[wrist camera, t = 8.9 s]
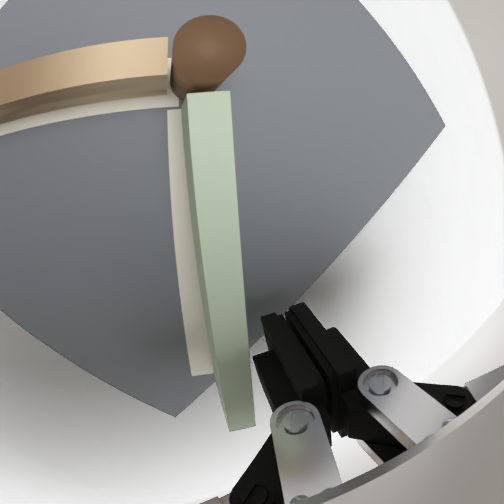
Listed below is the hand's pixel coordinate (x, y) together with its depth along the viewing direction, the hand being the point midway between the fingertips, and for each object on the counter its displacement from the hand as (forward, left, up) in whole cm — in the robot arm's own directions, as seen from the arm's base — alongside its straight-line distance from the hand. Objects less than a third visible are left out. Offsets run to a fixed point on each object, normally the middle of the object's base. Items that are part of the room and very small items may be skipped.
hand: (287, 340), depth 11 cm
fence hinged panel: (0, +4, -2) cm, 4 cm away
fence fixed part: (+1, +12, -2) cm, 12 cm away
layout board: (+3, +9, -2) cm, 9 cm away
